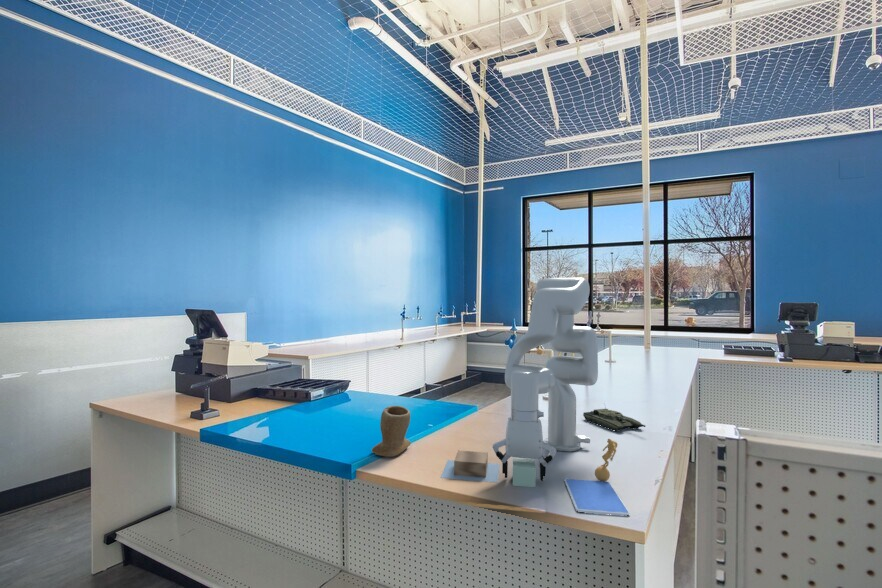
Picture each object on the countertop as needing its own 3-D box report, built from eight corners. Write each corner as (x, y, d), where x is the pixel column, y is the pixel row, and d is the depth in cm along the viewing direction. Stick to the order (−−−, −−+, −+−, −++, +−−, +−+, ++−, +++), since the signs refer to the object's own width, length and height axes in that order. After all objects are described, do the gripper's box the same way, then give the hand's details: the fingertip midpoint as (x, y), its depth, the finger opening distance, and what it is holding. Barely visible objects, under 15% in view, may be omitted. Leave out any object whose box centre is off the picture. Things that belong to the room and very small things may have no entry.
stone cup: (399, 462, 134) (400, 413, 135) (366, 456, 139) (367, 409, 139) (420, 447, 148) (420, 403, 149) (389, 442, 153) (390, 400, 153)
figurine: (591, 474, 126) (592, 433, 127) (612, 476, 126) (613, 434, 126) (598, 486, 118) (598, 442, 118) (621, 488, 117) (621, 443, 118)
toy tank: (606, 417, 193) (607, 395, 193) (658, 436, 166) (658, 410, 167) (581, 420, 188) (581, 397, 188) (630, 439, 161) (630, 412, 162)
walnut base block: (487, 465, 130) (487, 452, 130) (485, 477, 121) (485, 463, 121) (458, 463, 131) (458, 450, 132) (453, 475, 123) (454, 460, 123)
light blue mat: (499, 466, 132) (499, 463, 132) (497, 485, 118) (497, 482, 118) (447, 462, 134) (447, 459, 134) (440, 480, 121) (440, 477, 121)
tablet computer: (563, 482, 122) (563, 477, 122) (609, 485, 121) (609, 480, 121) (576, 515, 103) (576, 509, 103) (631, 519, 101) (631, 513, 101)
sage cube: (534, 481, 121) (534, 459, 121) (535, 490, 115) (535, 467, 115) (512, 479, 122) (512, 458, 122) (512, 488, 116) (512, 466, 116)
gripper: (555, 413, 121) (554, 474, 121) (493, 410, 124) (492, 470, 124) (557, 420, 114) (557, 485, 114) (492, 416, 117) (491, 480, 117)
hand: (523, 477), depth 119 cm, fingers open, 9 cm apart
